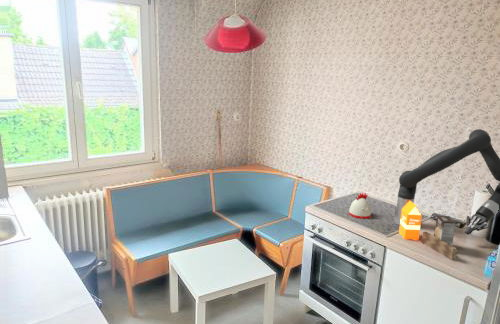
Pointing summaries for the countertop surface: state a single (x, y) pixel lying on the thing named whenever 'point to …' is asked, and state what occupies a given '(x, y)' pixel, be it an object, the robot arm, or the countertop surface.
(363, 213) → the kitchen timer
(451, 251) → the walnut board
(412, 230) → the orange juice
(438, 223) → the coffee box
